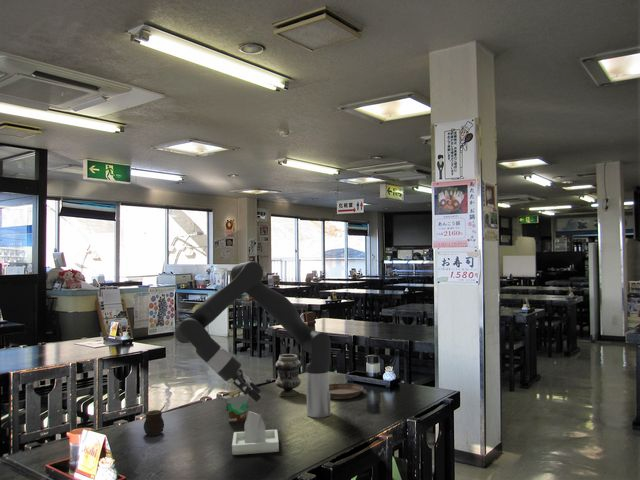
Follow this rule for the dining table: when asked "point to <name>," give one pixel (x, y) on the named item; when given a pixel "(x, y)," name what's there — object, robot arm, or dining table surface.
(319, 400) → the robot arm
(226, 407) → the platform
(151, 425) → the mate gourd
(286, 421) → the dining table surface
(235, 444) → the tray
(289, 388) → the apothecary jar
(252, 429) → the tea bag
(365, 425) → the dining table surface
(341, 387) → the plant saucer
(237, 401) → the food container
